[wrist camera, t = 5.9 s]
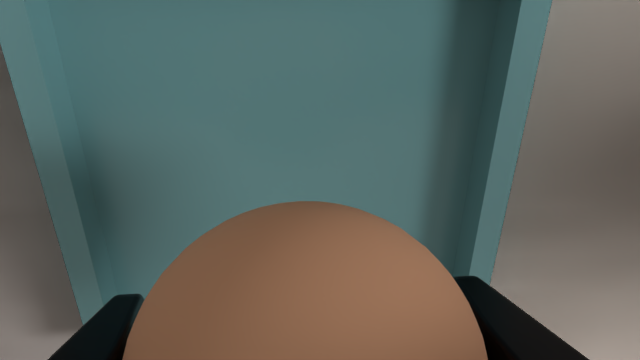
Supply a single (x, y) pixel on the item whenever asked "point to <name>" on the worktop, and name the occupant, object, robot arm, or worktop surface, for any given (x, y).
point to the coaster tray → (268, 120)
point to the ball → (305, 293)
